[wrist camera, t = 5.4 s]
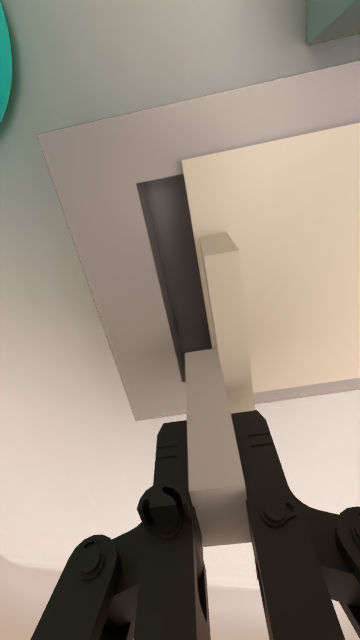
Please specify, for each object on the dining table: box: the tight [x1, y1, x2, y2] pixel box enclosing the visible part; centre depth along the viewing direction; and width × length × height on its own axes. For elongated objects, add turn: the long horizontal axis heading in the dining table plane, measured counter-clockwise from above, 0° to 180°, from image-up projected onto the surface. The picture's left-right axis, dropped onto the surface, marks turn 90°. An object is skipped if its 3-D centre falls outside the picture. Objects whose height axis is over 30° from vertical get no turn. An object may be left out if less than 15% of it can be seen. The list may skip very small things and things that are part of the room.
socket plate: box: [37, 61, 360, 421], centre depth 17 cm, size 16×21×4 cm
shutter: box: [181, 123, 360, 413], centre depth 13 cm, size 12×8×4 cm, turn 11°
